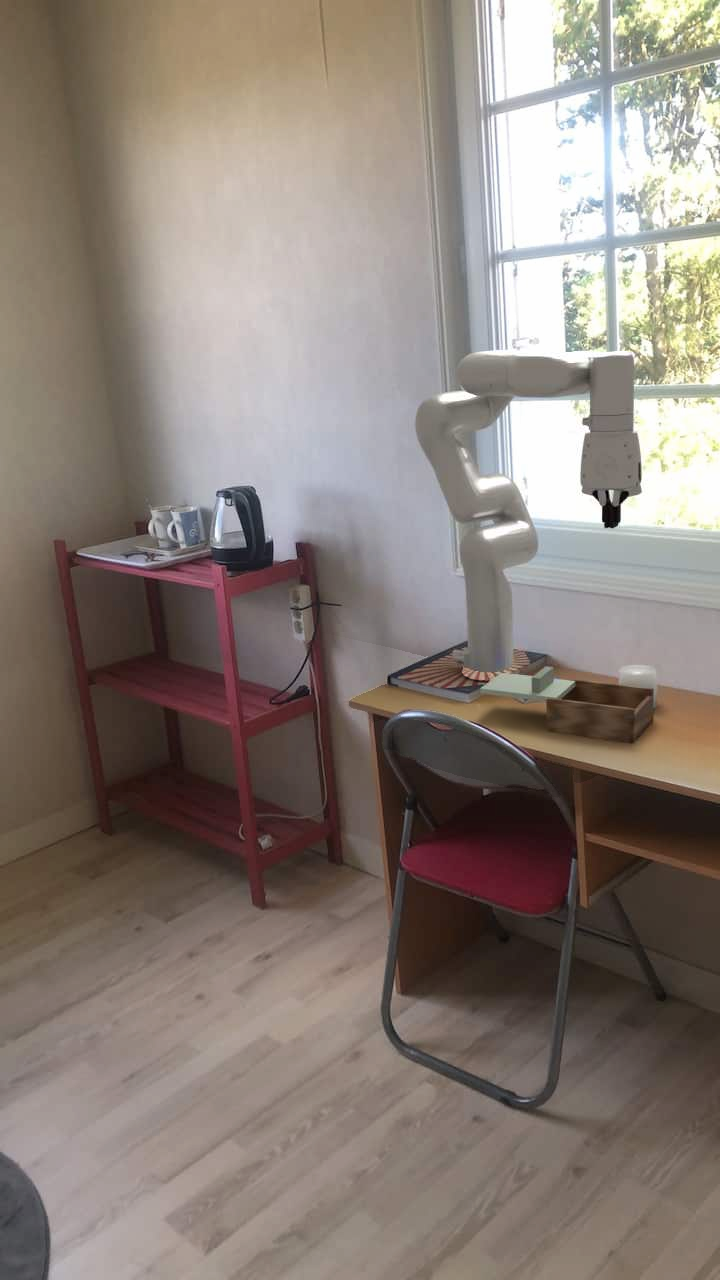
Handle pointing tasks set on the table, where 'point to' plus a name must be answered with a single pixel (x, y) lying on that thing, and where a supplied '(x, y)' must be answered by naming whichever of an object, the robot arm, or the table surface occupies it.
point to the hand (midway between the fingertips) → (611, 526)
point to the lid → (529, 686)
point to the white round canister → (639, 677)
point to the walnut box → (602, 711)
